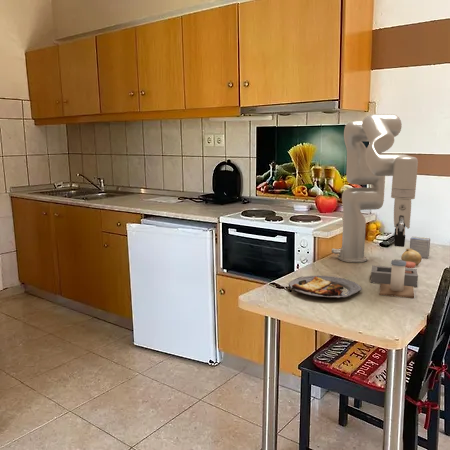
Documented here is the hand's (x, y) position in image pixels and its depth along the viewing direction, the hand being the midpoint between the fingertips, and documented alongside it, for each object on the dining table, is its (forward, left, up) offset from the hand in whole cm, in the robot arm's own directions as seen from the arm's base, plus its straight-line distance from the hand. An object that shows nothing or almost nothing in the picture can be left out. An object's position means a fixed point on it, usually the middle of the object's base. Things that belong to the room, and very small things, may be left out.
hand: (399, 242), depth 161 cm
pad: (0, -1, -17) cm, 17 cm away
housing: (-1, +12, -17) cm, 21 cm away
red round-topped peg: (+4, +12, -16) cm, 21 cm away
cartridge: (0, 0, -16) cm, 16 cm away
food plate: (-24, -8, -18) cm, 31 cm away
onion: (+6, +39, -18) cm, 44 cm away
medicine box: (+10, +55, -18) cm, 59 cm away
